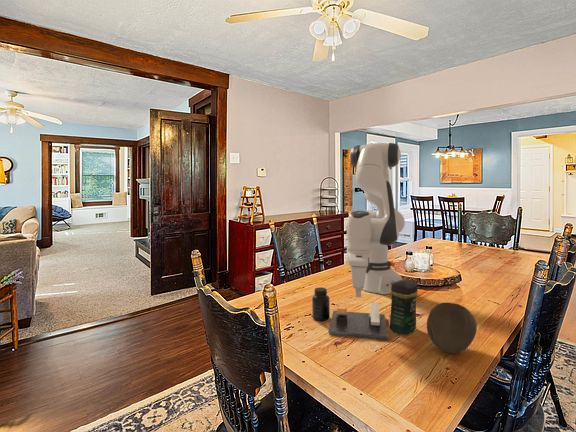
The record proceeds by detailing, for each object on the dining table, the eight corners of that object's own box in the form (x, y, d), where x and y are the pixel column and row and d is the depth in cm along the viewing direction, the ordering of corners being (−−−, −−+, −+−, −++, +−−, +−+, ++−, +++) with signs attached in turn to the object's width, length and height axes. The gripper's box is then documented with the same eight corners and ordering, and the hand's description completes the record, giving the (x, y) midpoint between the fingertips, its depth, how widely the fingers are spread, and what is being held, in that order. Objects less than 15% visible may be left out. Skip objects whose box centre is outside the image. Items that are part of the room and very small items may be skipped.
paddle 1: (337, 313, 128) (337, 307, 129) (348, 314, 127) (348, 308, 128) (335, 315, 119) (335, 308, 119) (347, 316, 118) (347, 309, 118)
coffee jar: (407, 338, 112) (408, 286, 110) (386, 330, 118) (387, 281, 116) (419, 329, 119) (421, 279, 117) (399, 322, 125) (400, 275, 123)
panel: (333, 314, 133) (333, 306, 133) (384, 318, 129) (384, 309, 128) (328, 334, 116) (328, 325, 115) (387, 340, 111) (387, 330, 111)
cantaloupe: (474, 366, 95) (476, 317, 93) (422, 353, 103) (424, 308, 101) (476, 345, 107) (478, 301, 105) (429, 335, 115) (431, 293, 113)
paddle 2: (368, 307, 125) (368, 302, 124) (380, 308, 124) (380, 303, 123) (368, 326, 117) (369, 321, 116) (381, 327, 116) (381, 322, 115)
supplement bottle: (317, 313, 134) (317, 285, 133) (332, 317, 130) (332, 288, 129) (309, 319, 128) (308, 290, 127) (324, 323, 125) (324, 293, 123)
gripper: (351, 249, 130) (350, 282, 131) (349, 262, 110) (348, 301, 112) (367, 249, 128) (367, 283, 130) (368, 263, 109) (367, 303, 110)
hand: (358, 292), depth 121 cm, fingers open, 8 cm apart
